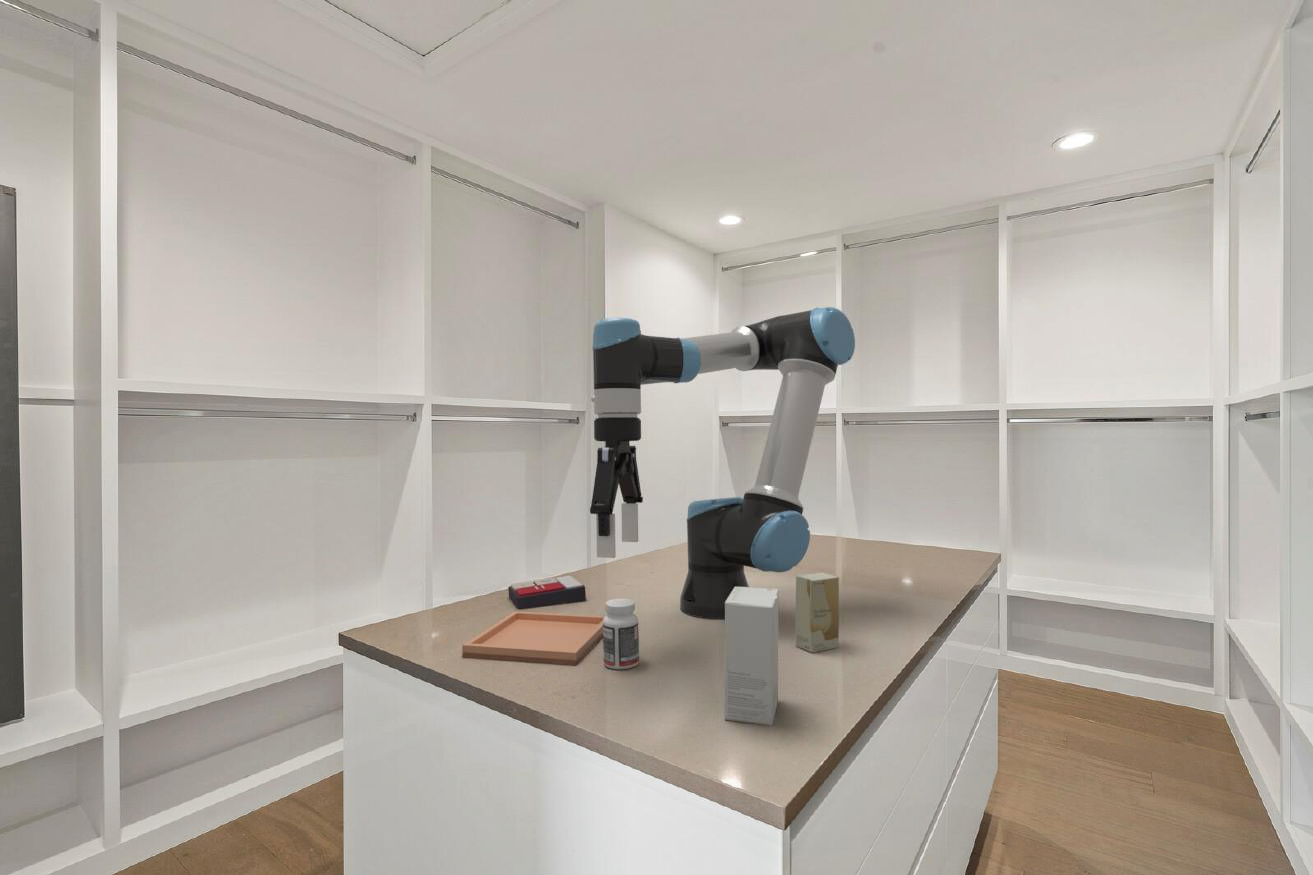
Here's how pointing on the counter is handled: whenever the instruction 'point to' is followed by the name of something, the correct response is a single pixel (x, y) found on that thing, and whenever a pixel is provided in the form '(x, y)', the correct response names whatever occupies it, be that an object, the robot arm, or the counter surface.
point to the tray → (537, 638)
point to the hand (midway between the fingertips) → (618, 549)
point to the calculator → (546, 592)
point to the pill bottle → (620, 635)
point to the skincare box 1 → (751, 655)
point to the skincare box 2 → (817, 611)
